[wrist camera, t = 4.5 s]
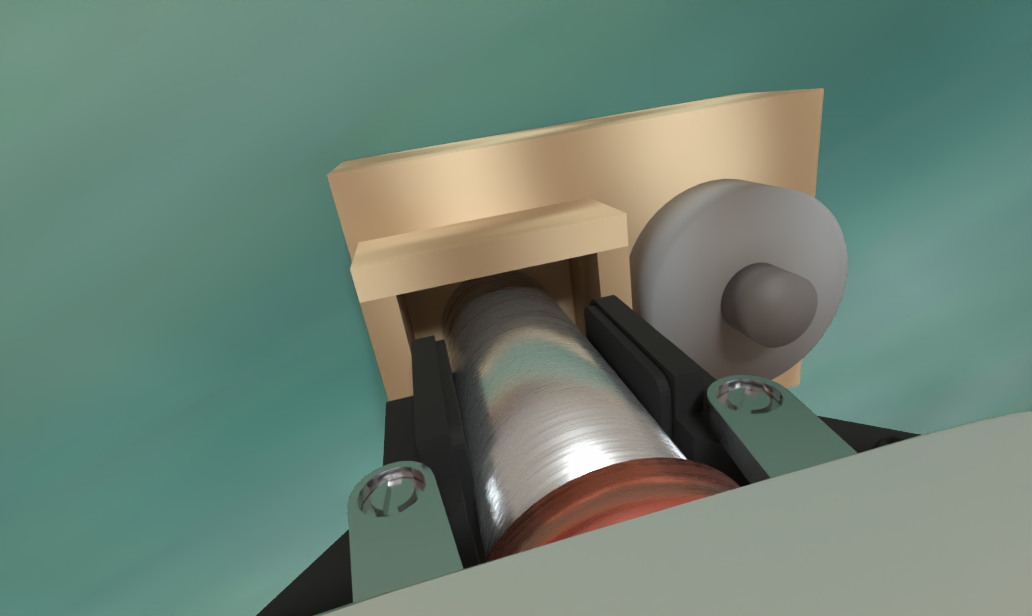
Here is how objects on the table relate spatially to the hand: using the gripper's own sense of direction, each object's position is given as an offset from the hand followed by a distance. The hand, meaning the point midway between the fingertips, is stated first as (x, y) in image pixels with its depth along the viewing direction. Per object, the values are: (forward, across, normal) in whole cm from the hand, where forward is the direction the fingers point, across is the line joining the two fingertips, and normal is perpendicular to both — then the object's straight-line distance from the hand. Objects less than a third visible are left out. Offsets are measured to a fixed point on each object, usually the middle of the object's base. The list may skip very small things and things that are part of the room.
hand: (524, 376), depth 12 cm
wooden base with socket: (+7, -3, 0) cm, 8 cm away
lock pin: (+3, 0, 0) cm, 3 cm away
